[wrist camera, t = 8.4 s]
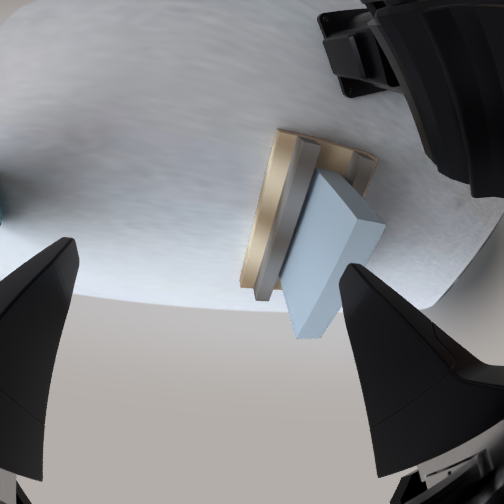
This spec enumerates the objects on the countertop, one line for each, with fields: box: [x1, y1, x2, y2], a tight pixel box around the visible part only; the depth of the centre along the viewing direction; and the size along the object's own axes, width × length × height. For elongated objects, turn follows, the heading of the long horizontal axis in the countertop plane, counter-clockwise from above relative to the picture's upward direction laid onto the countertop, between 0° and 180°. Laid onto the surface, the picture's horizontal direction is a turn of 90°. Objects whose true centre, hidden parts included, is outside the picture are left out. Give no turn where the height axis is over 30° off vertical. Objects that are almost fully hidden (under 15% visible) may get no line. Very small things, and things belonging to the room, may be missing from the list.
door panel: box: [278, 167, 387, 339], centre depth 19 cm, size 10×2×7 cm, turn 168°
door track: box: [240, 129, 379, 301], centre depth 21 cm, size 14×8×2 cm, turn 168°
